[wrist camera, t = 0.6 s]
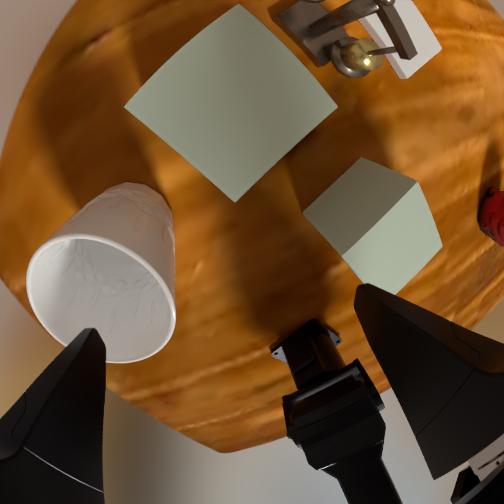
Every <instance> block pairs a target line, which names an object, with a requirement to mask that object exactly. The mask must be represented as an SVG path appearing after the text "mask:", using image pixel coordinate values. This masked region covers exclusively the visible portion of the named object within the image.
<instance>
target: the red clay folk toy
mask: <svg viewBox="0 0 504 504" xmlns="http://www.w3.org/2000/svg"><path fill="white" fill-rule="evenodd" d="M480 211H481V212H480V220H479V227H480V230H481V231H482V232H483V233H484V234H485V235H486V236H489V237H491V238H492V240H494V241H495V242H497V243H498V244H499V245H501V246H502V247H504V191H499V190H498V189H496V188H494V187H491V188H490V189H489V191H488V196H486V197H485V199H484V201H483V203H482V206H481V210H480Z"/></svg>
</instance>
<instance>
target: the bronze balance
mask: <svg viewBox="0 0 504 504" xmlns="http://www.w3.org/2000/svg"><path fill="white" fill-rule="evenodd" d="M323 1H325V0H301V1H299V2H297V3H296V4H294V5H292V6H291V7H289V8H287V9H286V10H284V11H283V12H281V13H279V14H278V15H276V16H275V17H274V18H273V19H272V20H273V21H274V22H275V23H276V24H277V25H278V26H279V27H280V28H281V29H282V30H283V31H284V32H285V33H286V34H287V35H288V36H289V37H290V38H291V39H292V40H293V41H294V42H295V43H296V44H297V45H298V46H299V47H300V48H301V49H302V50H303V51H304V53H305V54H306V55H307V56H308V57H309V58H310V59H311V60H312V61H313V63H314V64H315V65H316V66H317V67H321V66H324V65H325V64H327V63H328V62H329V61H331V62H332V64H333V66H334V67H335V68H336V70H337V71H338V72H339V73H341V74H342V75H344V76H346V77H349V78H360V77H364V76H365V75H367V74H368V73H369V72H370V70H371V69H377V68H379V67H380V66H381V65H382V63H383V54H390V53H398V55H399V57H400V59H405V60H411V59H412V58H413V57H415V56H416V55H417V54H418V53H417V51H416V48H415V46H414V44H413V42H412V40H411V37H410V35H409V33H408V31H407V29H406V27H405V25H404V23H403V21H402V19H401V18H400V16H399V14H398V12H397V10H396V8H395V7H394V3H395V0H351V1H349V2H348V3H346V4H344V5H342V6H340V7H338V8H336V9H334V10H333V11H331V12H329V13H328V12H327V11H326V10H325V9H324V8H323V7H322V6H321V5H320V4H319V3H320V2H323ZM374 13H376V14H377V16H378V17H379V19H380V21H381V23H382V24H383V26H384V28H385V30H386V32H387V33H388V35H389V37H390V39H391V41H392V43H393V45H394V46H393V47H386V48H380V47H379V45H378V44H377V43H376V42H374V41H373V40H371V39H368V38H363V39H359V40H358V39H356V38H354V37H349V36H348V35H347V34H346V32H345V31H344V30H343V29H342V28H341V26H343V25H346V24H348V23H351V22H353V21H356V20H358V19H361V18H363V17H366V16H369V15H372V14H374Z"/></svg>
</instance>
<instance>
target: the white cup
mask: <svg viewBox="0 0 504 504" xmlns="http://www.w3.org/2000/svg"><path fill="white" fill-rule="evenodd" d="M26 288H27V294H28V298H29V301H30V304H31V306H32V309H33V311H34V313H35V315H36V316H37V318H38V319H39V321H40V322H41V324H42V325H43V326H44V327H45V329H46V330H47V331H48V332H49V333H50V334H51V335H52V336H53V337H54V338H55V339H56V340H58V341H59V342H60V343H62V344H63V345H64V346H67V345H68V344H69V343H70V342H71V341H72V340H73V339H74V338H75V337H76V336H77V335H78V334H79V333H80V332H81V331H82V330H83V329H85V328H96V329H97V331H98V333H99V334H100V336H101V338H102V340H103V341H104V343H105V346H106V362H109V363H129V362H135V361H139V360H143V359H145V358H148V357H150V356H152V355H154V354H155V353H157V352H158V351H159V350H161V349H162V348H163V347H164V346H165V345H166V344H167V342H168V341H169V339H170V338H171V336H172V333H173V331H174V327H175V322H176V305H175V238H174V228H173V217H172V211H171V210H170V208H169V206H168V205H167V203H166V201H165V200H164V198H163V196H162V195H160V194H159V193H157V192H156V191H154V190H153V189H151V188H150V187H148V186H147V185H145V184H138V183H130V182H124V183H121V184H118V185H116V186H113V187H110V188H108V189H106V190H105V191H104V192H103V193H102V194H100V195H99V196H97V197H96V198H94V199H92V200H91V201H90V202H89V203H87V204H86V205H85V206H84V207H82V208H81V209H80V210H78V211H77V212H76V213H75V214H74V215H73V216H72V217H70V218H69V219H68V220H67V221H66V222H65V223H64V224H63V225H62V226H61V227H60V228H59V229H58V230H57V231H55V232H54V233H53V234H52V235H51V236H50V237H49V238H48V239H47V240H46V241H45V242H44V243H43V244H42V245H41V246H40V247H39V248H38V249H37V251H36V252H35V253H34V255H33V256H32V258H31V260H30V262H29V265H28V269H27V274H26Z"/></svg>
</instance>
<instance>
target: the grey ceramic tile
mask: <svg viewBox="0 0 504 504" xmlns="http://www.w3.org/2000/svg"><path fill="white" fill-rule="evenodd" d="M394 7H395V8H396V10H397V12H398V14H399V16H400V18H401V19H402V21H403V23H404V25H405V27H406V29H407V31H408V33H409V35H410V37H411V40H412V42H413V44H414V46H415V48H416V51H417V53H418V54H417V55H416V56H415V57H413V58H412V59H411V60H405V59H400V57H399V55H398V53H390V54H384V55H385V56H386V58H387V59H388V61H389V62H390V64H391V65H392V67H393V69H394V70H395V72H396V73H397V75H398V77H399V78H400V79H407V78H409V77H410V76H411V75H412V74H413V73H414V72H416V71H417V70H418V69H419V68H420V67H421V66H423V65H424V64H425V63H426V62H427V61H429V60H430V59H431V58H432V57H433V56H434V55H436V54H437V53H438V52H439V51H440V50H442V48H441V46H440V44H439V43H438V41H437V39H436V37H435V36H434V34H433V32H432V31H431V29H430V27H429V26H428V24H427V23H426V21H425V20H424V18H423V17H422V15H421V14H420V12H419V11H418V9H417V8H416V6H415V5H414V4H413V2H412V1H411V0H395V3H394ZM358 20H359V22H360V23H361V24H362V25H363V27H364V28H365V29H366V30H367V32H368V33H369V34H370V36H371V37H372V38H373V40H374V41H375V42H376V43H377V44H378V45H379V47H380V48H386V47H393V46H394V45H393V43H392V41H391V39H390V37H389V35H388V33H387V32H386V30H385V28H384V26H383V24H382V23H381V21H380V19H379V17H378V16H377V14H376V13H374V14H372V15H369V16H366V17H363V18H361V19H358Z"/></svg>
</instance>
